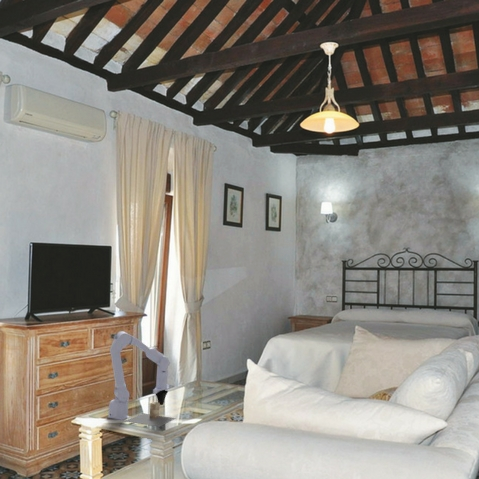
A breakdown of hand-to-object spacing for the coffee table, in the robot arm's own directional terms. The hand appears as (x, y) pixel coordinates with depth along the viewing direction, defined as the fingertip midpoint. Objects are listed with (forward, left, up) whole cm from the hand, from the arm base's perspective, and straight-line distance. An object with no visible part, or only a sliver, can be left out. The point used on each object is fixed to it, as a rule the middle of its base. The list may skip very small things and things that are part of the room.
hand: (160, 404), depth 302 cm
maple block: (0, -7, -5) cm, 8 cm away
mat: (+1, -12, -5) cm, 13 cm away
